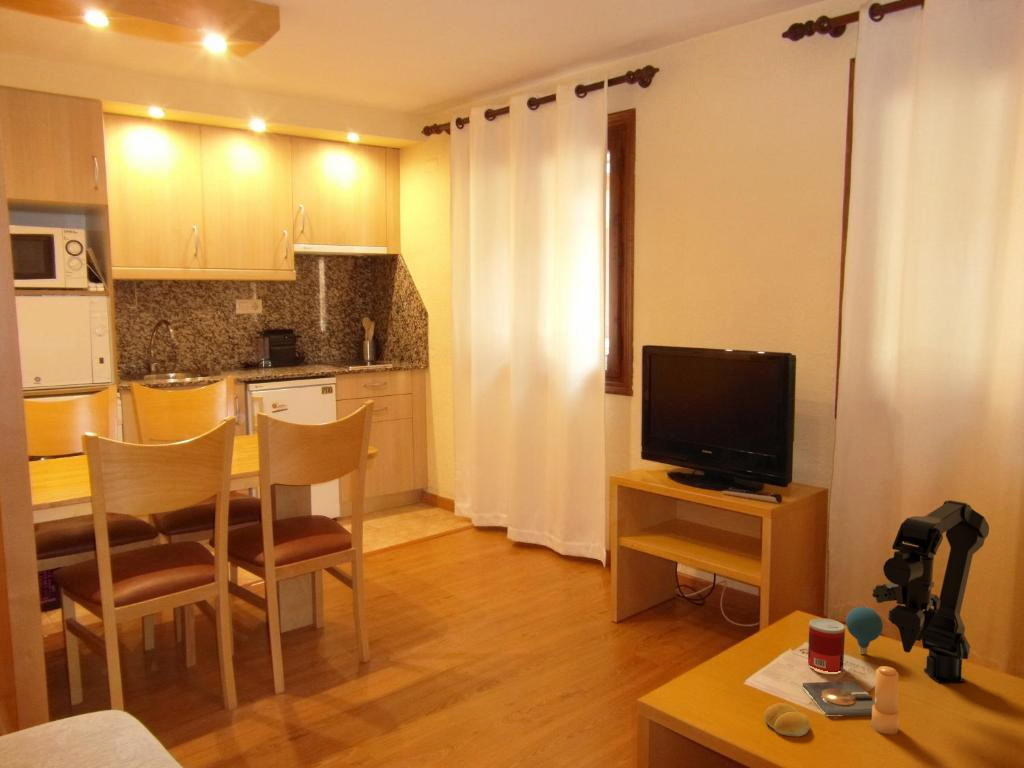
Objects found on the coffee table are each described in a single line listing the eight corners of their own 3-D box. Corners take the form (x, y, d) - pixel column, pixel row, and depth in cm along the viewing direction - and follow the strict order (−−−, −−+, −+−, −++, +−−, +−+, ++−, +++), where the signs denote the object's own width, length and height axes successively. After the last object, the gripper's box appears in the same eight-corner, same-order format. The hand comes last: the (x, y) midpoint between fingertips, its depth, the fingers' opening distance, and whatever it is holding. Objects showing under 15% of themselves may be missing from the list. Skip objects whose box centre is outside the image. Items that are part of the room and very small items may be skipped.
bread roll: (786, 741, 155) (787, 723, 155) (757, 719, 163) (758, 701, 163) (819, 734, 158) (819, 715, 158) (789, 712, 166) (790, 695, 166)
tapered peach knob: (889, 721, 162) (892, 663, 161) (903, 734, 157) (906, 675, 156) (866, 721, 162) (869, 664, 161) (879, 734, 157) (882, 675, 156)
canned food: (848, 675, 183) (850, 631, 182) (814, 675, 183) (816, 630, 182) (835, 661, 190) (837, 618, 189) (803, 660, 191) (804, 617, 189)
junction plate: (853, 687, 177) (854, 679, 177) (881, 714, 165) (881, 706, 165) (802, 689, 176) (802, 681, 176) (826, 716, 164) (826, 708, 164)
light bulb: (837, 650, 196) (839, 604, 195) (861, 644, 200) (863, 599, 199) (864, 663, 189) (866, 616, 188) (889, 657, 192) (891, 611, 191)
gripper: (890, 560, 181) (885, 625, 182) (865, 577, 167) (860, 647, 168) (943, 571, 174) (937, 638, 175) (922, 589, 160) (916, 662, 161)
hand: (912, 646), depth 170 cm, fingers open, 9 cm apart
